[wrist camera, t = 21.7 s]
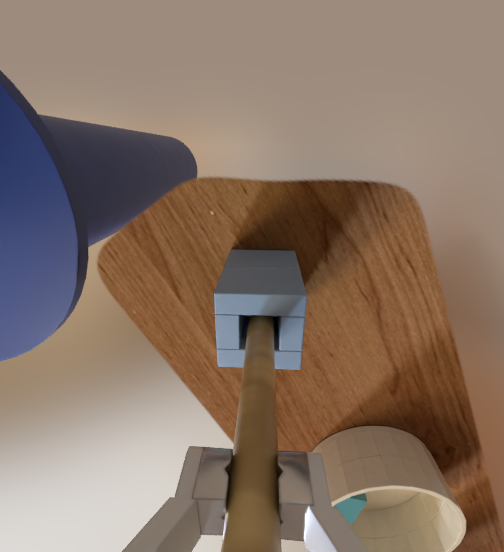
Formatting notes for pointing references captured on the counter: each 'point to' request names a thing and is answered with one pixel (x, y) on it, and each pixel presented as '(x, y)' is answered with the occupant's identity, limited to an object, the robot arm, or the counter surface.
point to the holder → (260, 305)
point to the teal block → (352, 507)
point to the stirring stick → (255, 450)
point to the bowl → (393, 490)
